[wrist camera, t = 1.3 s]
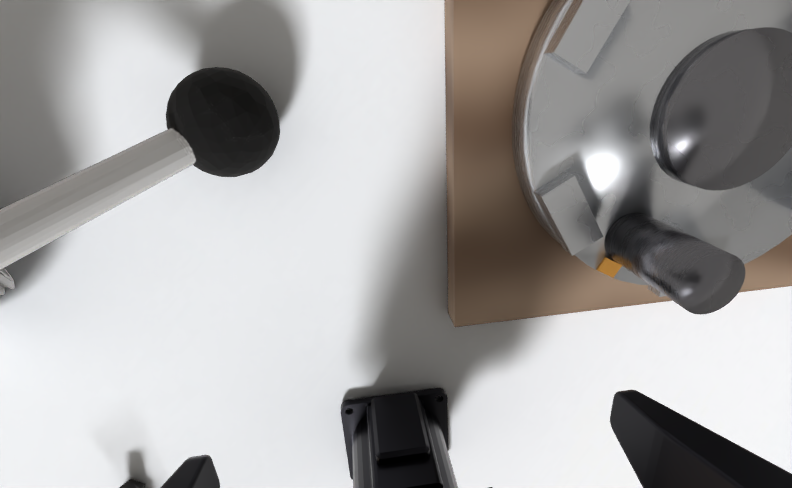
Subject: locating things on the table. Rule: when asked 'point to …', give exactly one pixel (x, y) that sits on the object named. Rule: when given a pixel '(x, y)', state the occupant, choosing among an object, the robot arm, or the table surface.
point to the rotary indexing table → (660, 139)
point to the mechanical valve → (152, 160)
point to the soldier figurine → (133, 484)
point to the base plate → (518, 188)
